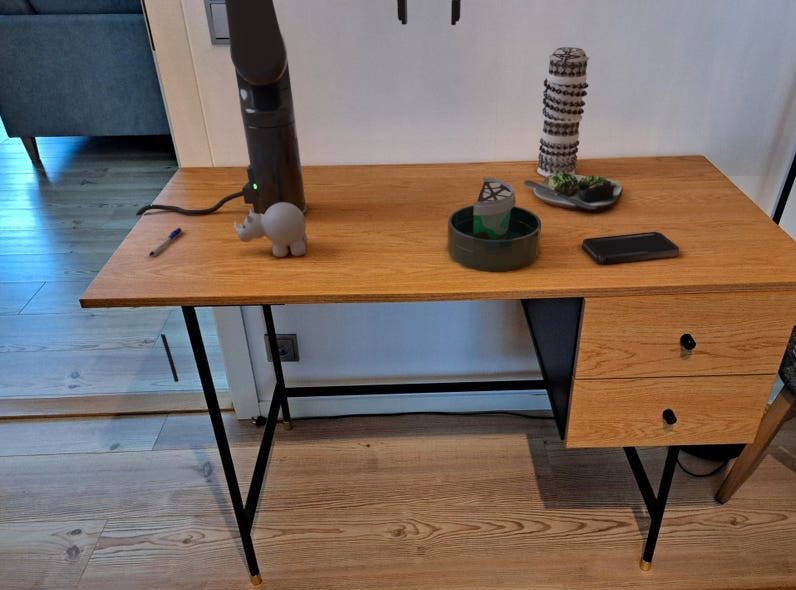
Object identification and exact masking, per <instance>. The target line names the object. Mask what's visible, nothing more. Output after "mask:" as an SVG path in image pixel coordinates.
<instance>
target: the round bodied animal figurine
mask: <svg viewBox="0 0 796 590" xmlns="http://www.w3.org/2000/svg"><path fill="white" fill-rule="evenodd" d="M248 209H249V214H246V215H245V218H244V221H243V223H240V224H239V225H238V223H237V221H234V225H233V227H234V230H235V231H236V235H237V237H238V239H239V240H240V241H241V242H244V243H249V242H251V241H252V240H253V239H262V238H263V237H266V238H267V239H268V240H269V241H270V242H271V243H272V248H271V251H272V254H273V256H274V257H277V258H283V257H286V256H287V255H288V254H289V249H290V253H291V254H292V255H293V256H294V257H300V256H303V255H305V254H306V253H307V247H306V244H307V242H308V236H307V233H306V229H307V221H306V217H305V214H303V213H302V212H301V210H300V209H299V208H297V207H296V206H294V205H292V204H290V203H284V202H282V203H277V204H274V205H272V206H271V207H270V208H268V210H267V211H266V213H265V214H264V215H260V214H256V213H254V209H253V207H252V208H251V207H249V208H248Z"/></svg>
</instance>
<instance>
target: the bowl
mask: <svg viewBox="0 0 796 590" xmlns="http://www.w3.org/2000/svg"><path fill="white" fill-rule="evenodd" d="M473 213H474V204H472V205H467V206H464V207H461V208H458V209H457V210H455V211H453V212H452V213H451V214H450V215H449V216H448V219H447V250H448V254H449V257H451V259H452V260H453V261H455V262H456V263H457V264H459V265H461V266H464V267H467V268H470V269H472V270H477V271H484V272H497V273H498V272H509V271H515V270H519V269H522V268H525V267H527V266H528V265H529V266H530V264H532V263H533V262H534V261H535V260H536V258H537V257H538V253H539V250H540V243H541V232H542V220H541V218H540V217H539V216H538V214H535V213H534V212H532V211H531V210H529V209H526V208H524V207H521V206H517V205H515V206H514V207H513V208H512V209H511V212H510V219H509V226H508V233H507V239H506V240H487V239H480V238H475V237H473V233H474V215H473Z"/></svg>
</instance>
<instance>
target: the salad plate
mask: <svg viewBox="0 0 796 590" xmlns="http://www.w3.org/2000/svg"><path fill="white" fill-rule="evenodd" d="M523 184H524V185H525V186H526V187H528V188H530V189H531V190H533V195H534V196H535V197H537V198H538V199H539V200H541V201H542V202H543V203H546V204H548V205H550V206H554V207H559V208H564V209H568V210H573V211H576V212H584V213H601V212H602V213H603V212H606V211H608V210H610V209H612V207H614V206H615V205H616V204H617V202H618V200H619V199H620V197H621V195H622V193H623V190H624V189H623V186H622V184H621V183H619V182H618V181H616V180H613V179H609V178H605V177H603V176H602V177H601V176H599V175H596V176H594V175H589V176H586V175H580V174H576V173H575V174H568V173H563V172H561V173H558V174H552V175H549V176H547V177H546V176H545V177H544V178H543V179H542V180H541V182H540V183H537V182H535V181H532V180H530V179H528V180H524V181H523Z"/></svg>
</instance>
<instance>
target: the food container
mask: <svg viewBox="0 0 796 590" xmlns="http://www.w3.org/2000/svg"><path fill="white" fill-rule="evenodd" d="M482 183H483V184H482V187H481V189H480V191H479V194H478V198H477V201H474V202H473V205H474V213H473V215H474V233H473V237H475V238H480V239H487V240H506V239H507V233H508V226H509V219H510V212H511V209H512V208H513V207H514V206H516V203H517V199H516V193H515V190H514V187H513V185H511V184H510V183H508V182H506V181H505V180H502V179H499V178H494V177H487V176H484V177H483V182H482Z"/></svg>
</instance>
